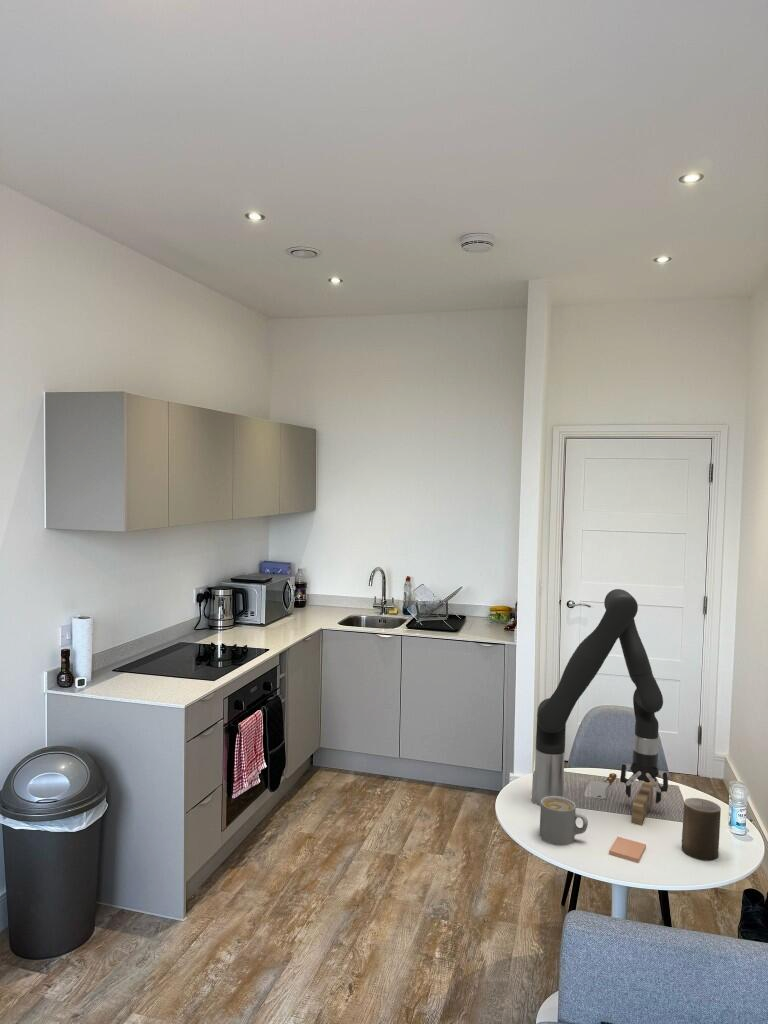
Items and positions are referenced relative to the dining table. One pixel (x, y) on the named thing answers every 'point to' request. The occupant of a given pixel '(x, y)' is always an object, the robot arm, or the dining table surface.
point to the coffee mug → (560, 820)
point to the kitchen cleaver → (601, 787)
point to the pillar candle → (701, 828)
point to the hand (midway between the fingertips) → (643, 799)
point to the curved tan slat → (642, 803)
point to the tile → (627, 849)
